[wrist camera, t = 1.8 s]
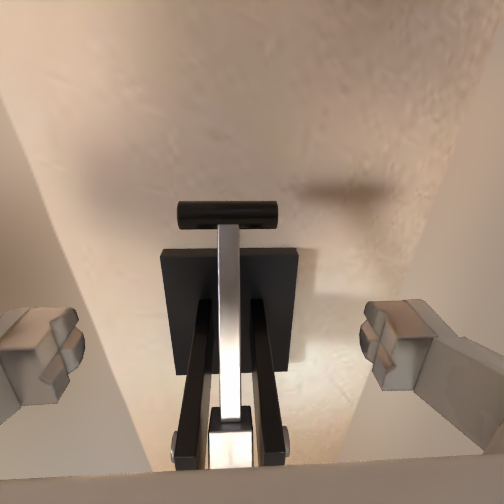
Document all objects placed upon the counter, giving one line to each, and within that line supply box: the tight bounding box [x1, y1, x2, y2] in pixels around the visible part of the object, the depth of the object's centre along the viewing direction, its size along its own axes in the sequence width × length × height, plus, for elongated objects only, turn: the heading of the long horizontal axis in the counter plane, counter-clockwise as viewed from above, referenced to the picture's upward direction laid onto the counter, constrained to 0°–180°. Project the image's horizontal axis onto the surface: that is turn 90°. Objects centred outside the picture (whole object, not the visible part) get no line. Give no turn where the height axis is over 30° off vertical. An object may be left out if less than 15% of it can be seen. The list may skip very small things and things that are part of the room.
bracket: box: [160, 248, 299, 471], centre depth 20 cm, size 12×10×13 cm
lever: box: [177, 201, 278, 469], centre depth 16 cm, size 14×5×2 cm, turn 0°
